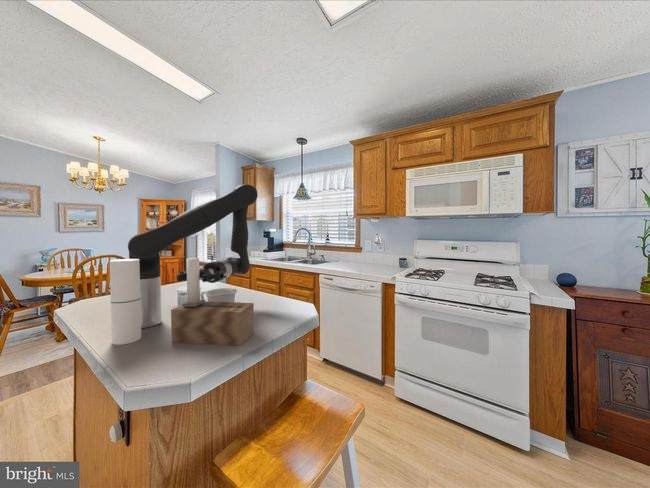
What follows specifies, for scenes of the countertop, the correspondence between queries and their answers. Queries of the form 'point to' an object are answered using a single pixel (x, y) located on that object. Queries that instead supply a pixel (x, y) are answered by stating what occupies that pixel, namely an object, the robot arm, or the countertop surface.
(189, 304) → the lever
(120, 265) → the cylindrical container
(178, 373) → the countertop surface
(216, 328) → the brown rectangular block
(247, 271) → the robot arm
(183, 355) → the countertop surface
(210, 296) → the teacup
